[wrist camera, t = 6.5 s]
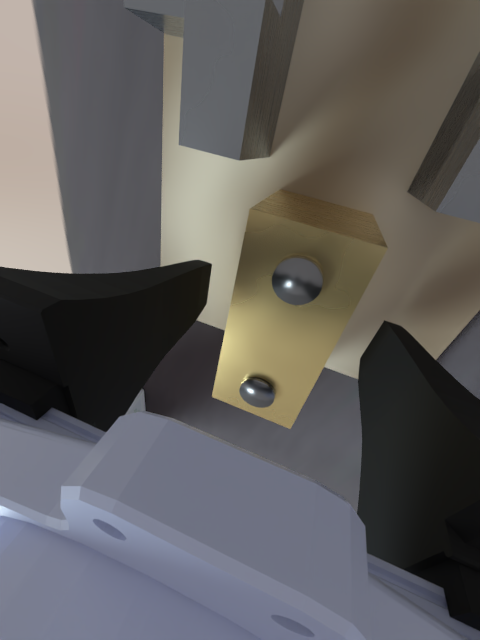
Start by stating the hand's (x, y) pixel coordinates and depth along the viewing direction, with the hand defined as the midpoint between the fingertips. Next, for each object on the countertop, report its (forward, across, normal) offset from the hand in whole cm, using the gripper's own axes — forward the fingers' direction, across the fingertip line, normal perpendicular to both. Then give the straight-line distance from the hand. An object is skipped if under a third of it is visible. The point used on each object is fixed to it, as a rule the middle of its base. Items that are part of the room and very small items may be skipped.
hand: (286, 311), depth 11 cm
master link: (+2, 0, 0) cm, 2 cm away
